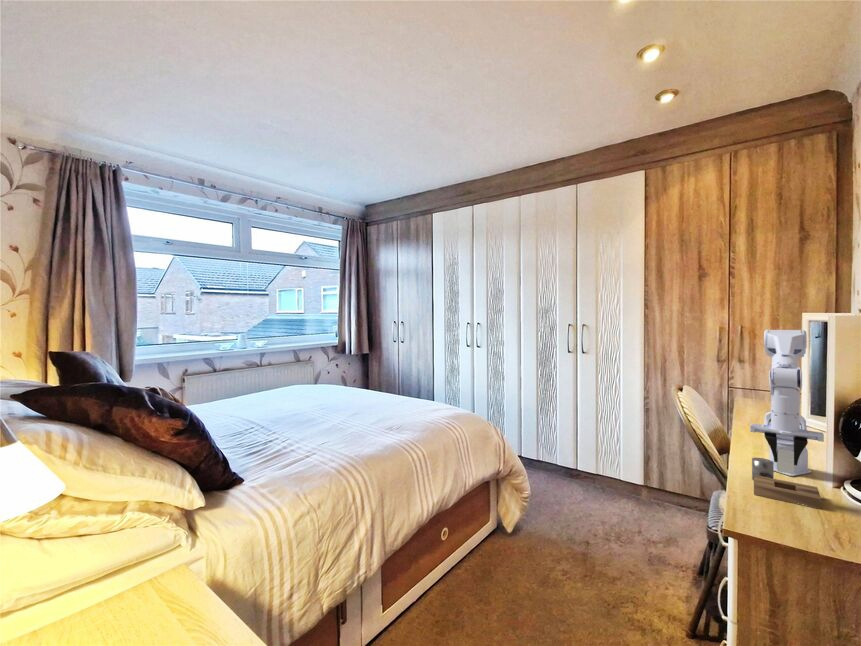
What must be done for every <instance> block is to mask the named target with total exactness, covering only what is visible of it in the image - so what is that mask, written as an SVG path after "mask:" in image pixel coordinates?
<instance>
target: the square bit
mask: <svg viewBox="0 0 861 646" xmlns="http://www.w3.org/2000/svg"><path fill="white" fill-rule="evenodd" d="M777 457H778V462H777V470H778V471H779V472H785V473H790V474H794V450H793V448H787V447H781V446H777ZM779 472H778V473H779Z"/></svg>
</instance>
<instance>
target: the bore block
mask: <svg viewBox="0 0 861 646" xmlns="http://www.w3.org/2000/svg"><path fill="white" fill-rule="evenodd" d="M753 495H754V496H759V497H763V498H766V499H767V498H768V499H773V500H777V501H782V502H786V501H788V502H787V503H790V502H793V503H792V504H795V503H799V504H798V505H800V504H804V505H807V506H806V507H809V506H811V507H810V508H813V507H816V508H815V509H818V508H821V509H820V510H822V509H823V508H822V507H823V506H822V505H823V504H822V503H823V502H822V501H823V500H822V497H821V494H820V492H819V489H818V487H817V486H813V485H808V484H803V483H797V482H793V481H787V480H782V479H777V478H774V479H773V478H767V477H762V476H757V475H754V480H753ZM804 505H803V506H804Z"/></svg>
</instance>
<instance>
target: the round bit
mask: <svg viewBox="0 0 861 646" xmlns="http://www.w3.org/2000/svg"><path fill="white" fill-rule="evenodd" d="M774 473H775V471H774V462H773V461H771V460H770V459H767V458H763V457H752V458H751V480H752V481H754V475H757V476H762V477H767V478H773V479H775V478H774V477H775V476H774V475H775V474H774Z"/></svg>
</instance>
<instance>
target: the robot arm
mask: <svg viewBox="0 0 861 646" xmlns="http://www.w3.org/2000/svg"><path fill="white" fill-rule="evenodd" d="M807 338H808V336H807V331H806V330H805V329H765V330H764V333H763V347H764V353H765V355H766V356H767V357H770V358H771V368H770V369H769V371H768V386H769V390H770V394H769V395H771V396H770V411H768V412H766V413H765V415H764V420H763V424H758V423H750V424H749V427H750V428H749V429H750V432H751V433H761V434H762V433H763V436H764V439H765V440H766V441H767V442H766V443H767V444H768V446H769V460H771V461H773V462H774V472H776V473H779V474H783V475H786V476H789V477H794V476H801V475H805V474H810V473H812V470H810V469H809V451H808V448H807V445H808V444H809V441H808V440H812V441H813V440H814V441H818V442H822V443H825V439H824V438H825V434H824V432H820V431H813V430H809V429H808V428H807V426H808V425H807V420H806V418H805V417H804V416H802V415H801V412H800V410H801V409H800V408H801V406H800V405H801V404H800V402H801V401H800V400H801V390H802V389H803V372H802V370H801V367H800V362H799V359H800V358H803V357H805V354H806V351H807V348H808V347H807V346H808V345H807V343H808V341H807V340H808V339H807ZM798 388H799V389H798ZM777 446H781V447H787V448H793V450H794V474H790V473H785V472H779V471H778V470H777V462H778V457H777Z"/></svg>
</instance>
